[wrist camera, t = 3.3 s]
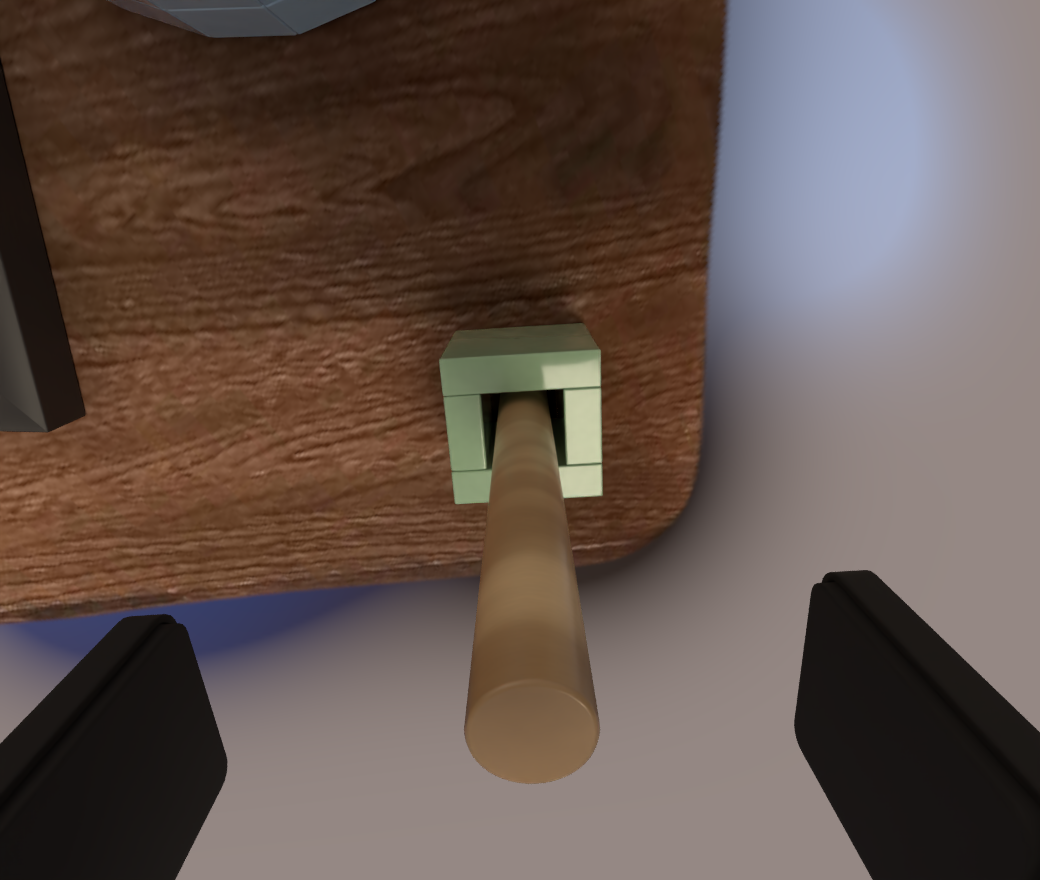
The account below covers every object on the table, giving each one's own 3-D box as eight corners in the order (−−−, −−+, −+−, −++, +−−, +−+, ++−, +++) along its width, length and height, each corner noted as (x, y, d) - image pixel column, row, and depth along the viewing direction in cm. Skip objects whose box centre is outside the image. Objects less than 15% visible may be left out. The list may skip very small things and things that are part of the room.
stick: (517, 358, 23) (514, 659, 7) (554, 383, 24) (628, 722, 8) (491, 394, 24) (437, 750, 8) (529, 418, 24) (548, 805, 8)
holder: (454, 330, 23) (438, 359, 18) (584, 322, 23) (601, 349, 18) (466, 450, 25) (454, 504, 20) (587, 443, 25) (603, 496, 20)
